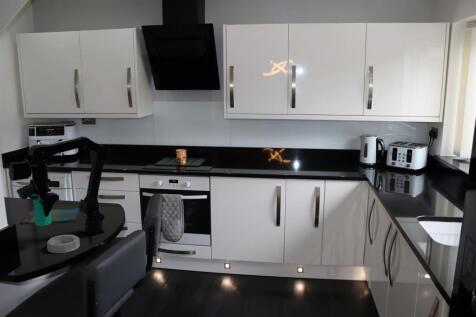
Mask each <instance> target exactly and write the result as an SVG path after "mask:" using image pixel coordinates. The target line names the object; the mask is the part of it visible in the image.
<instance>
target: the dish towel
mask: <svg viewBox="0 0 476 317" xmlns="http://www.w3.org/2000/svg"><path fill="white" fill-rule="evenodd" d="M79 214H80V209H79V207H77V208H73V209H72V208H71V209H51V223H50V224H58V223H73V222H76V219H77V217H78V215H79ZM20 224H21V225H35V214H34V209H33V210H30V211H29V212H28V214H27V215H26V216H25V217H24V218H23V219H22V220H21V223H20Z"/></svg>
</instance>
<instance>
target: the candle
mask: <svg viewBox="0 0 476 317" xmlns="http://www.w3.org/2000/svg"><path fill="white" fill-rule="evenodd" d="M33 201H34V202H33ZM32 202H33V210H34V214H35V224H34V226H35V225H36V226H38V227H39V226H40V227H43V226H47V225H50V224H52V223H51V211H50V213H49V215H48V217H45V215H44V211H43V206H42V204H40V203H39V202H40V200H39V197H38V198H34V199H33V200H32Z"/></svg>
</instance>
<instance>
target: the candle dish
mask: <svg viewBox="0 0 476 317" xmlns="http://www.w3.org/2000/svg"><path fill="white" fill-rule="evenodd" d="M46 246H47V250H46V251H48V252H49V253H51V254H52V253H53V254H65V253H70V252H74V251H75V250H77V249H79V248H80V246H81V245H80V237H78V236H76V235H74V234H60V235H56V236H54V237H51V238H50V239H49V240H48V241H46Z"/></svg>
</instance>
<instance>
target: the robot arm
mask: <svg viewBox="0 0 476 317" xmlns="http://www.w3.org/2000/svg"><path fill="white" fill-rule="evenodd" d="M81 148H84V149H86V150H87V151H89V152H90V155H89V157H90V161H91V167H90V173H89V179H88V184H87V189H86V195H85V197H84V199H82V198H81V199H80V200H79V206H78V209H79V210H80V211H79V213H80V214H82V215H83V216H84V218H86V219H85V223H84V231H83V232H84V233H85V234H88V235H89V236H91V237H92V236H96V235H98V234H99V235H100V234H103V233H105V230H104V228H103V221H104V219H105V215H104V214H103V213H101V211H100V205H99V199H98V198H99V197H98V196H99V191H100V185H101V180H102V175H103V168H104V166H105V165H106V163H107V161H108V160H109V156H110V152H111V151H110V149H109V148H108V146H106V145H102V144H100V143H99V144H98V143H97V142H95V141H93V140H91V138H89V137H88V136H87V137H86V136H83V135H82V136H79V137H76V138H72V139H68V140H63V141H60V142H59V141H58V142H57V143H56V142H55V143H49V144H48V143H47V144H46V143H45V144H42V143H41V144H34V145H31V146H30V148H29V149H28V154H27V155H26V156H25V157H24V160H23V161H20V162H10V163H9V164H10V166H9V170H8V176H9V178H10V181H12V182H15V181H21V180H23V181H24V180H29V179H30V178H31V179H30V180H29V184H25V185H23V186H22V187H20V188H18V189H17V190H16V193H17V195H18V197H19V198H20V199H22V200H27V199H28V198H29V199H30V200H31V201H32V202H33V203H34V201H33V199H34V198H38V197H39V200H40V202H39V203H40V204H42V206H43V211H44V215H45V217H48V215H49V213H50V211H51V210H53V207H54V204H55V203H56V202H59V201H60V195H59V194H57V193H56V192H53V191H52V188H50V186H49V185H50V184H49V183H50V182H51V179H50V178H49V170H48V168H49V166H53V165H54V163H53V162H51V161H50V159H51V158H52V157H54V156H56V155H58V154H62V153H65V152H70V151H74V150H76V149H81Z"/></svg>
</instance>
